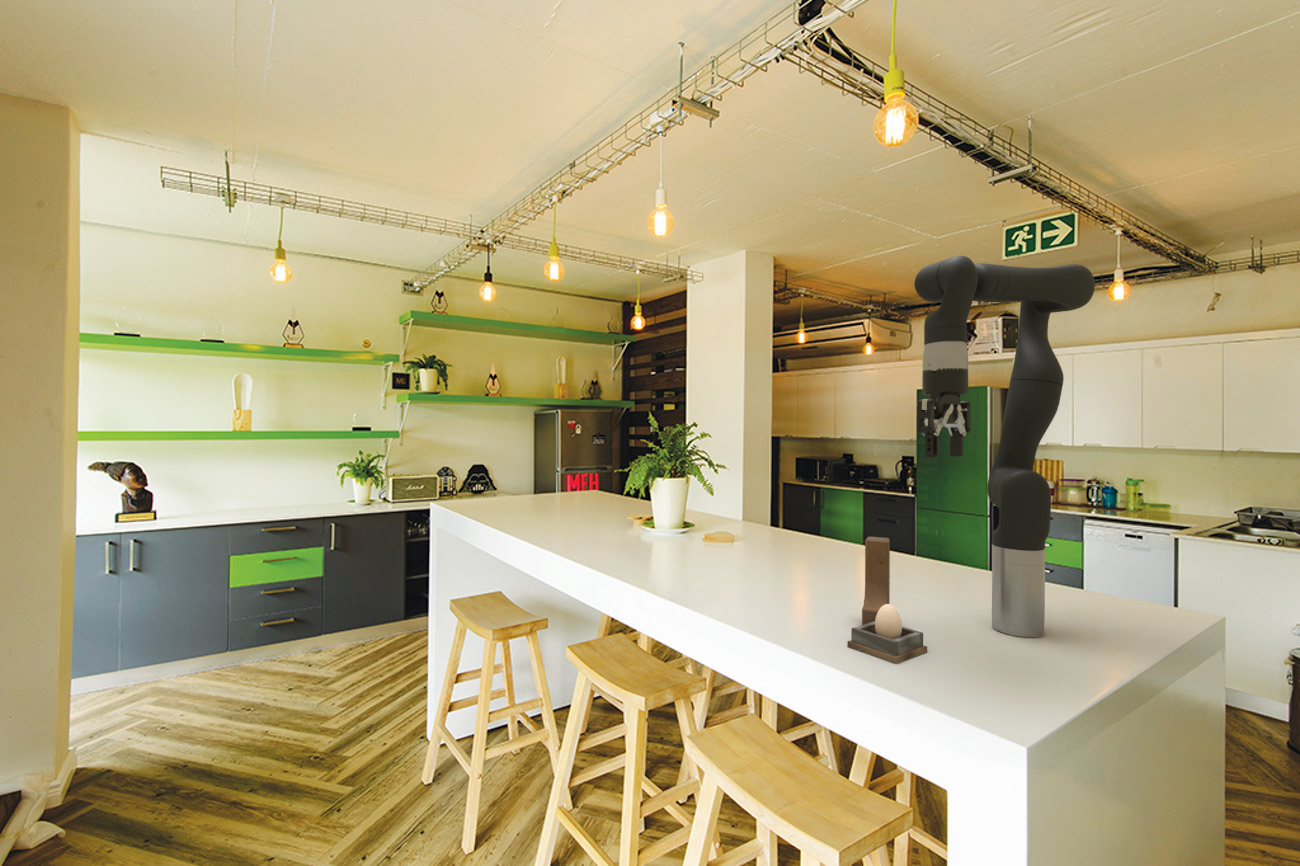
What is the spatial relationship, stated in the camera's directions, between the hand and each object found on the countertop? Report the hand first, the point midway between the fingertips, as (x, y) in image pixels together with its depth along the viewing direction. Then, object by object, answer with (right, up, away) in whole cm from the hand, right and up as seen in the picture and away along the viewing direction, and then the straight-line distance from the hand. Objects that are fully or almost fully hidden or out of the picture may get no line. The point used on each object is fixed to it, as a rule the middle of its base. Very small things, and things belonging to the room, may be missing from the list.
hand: (944, 456), depth 107 cm
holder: (-10, -36, +2) cm, 37 cm away
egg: (-10, -35, +2) cm, 37 cm away
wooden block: (-7, -36, +15) cm, 40 cm away
